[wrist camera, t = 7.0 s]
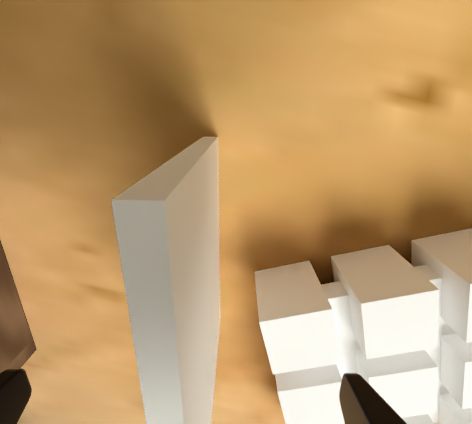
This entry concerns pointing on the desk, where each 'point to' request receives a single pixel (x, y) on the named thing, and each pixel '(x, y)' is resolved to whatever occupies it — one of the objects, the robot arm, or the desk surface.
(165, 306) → the sheet
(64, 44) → the desk surface
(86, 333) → the desk surface
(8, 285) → the tray
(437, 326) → the organizer
